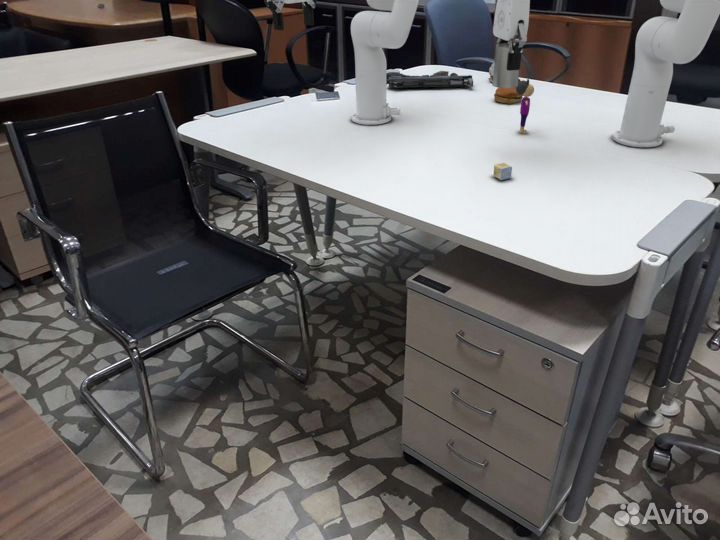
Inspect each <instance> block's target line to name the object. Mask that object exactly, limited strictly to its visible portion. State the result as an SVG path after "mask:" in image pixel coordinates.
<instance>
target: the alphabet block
mask: <svg viewBox="0 0 720 540" xmlns="http://www.w3.org/2000/svg"><path fill="white" fill-rule="evenodd" d="M512 172H513V166H512V165H510V164H507V163H505V162H502V163H501V162H500V163H497V164H494V165H493V178H494V177H495V178H496V179H498V180H500V181H504V180H508V179H511V178H512Z"/></svg>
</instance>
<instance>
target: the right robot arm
mask: <svg viewBox="0 0 720 540" xmlns="http://www.w3.org/2000/svg"><path fill="white" fill-rule="evenodd" d="M659 3H660V5H661V6H662V8H664V9H665V10H667V11H670V12H674V13H679V14H680V15H679V17H678V18H676V17H670V16H663V15H662V16H661V15H660V16H654V17H652V18H649V19H648V20H647V21H645V22H644V23H643V24H642V25H641V26H640V28H639V30H638V32H637V34H636V37H635V45H634V47H635V48H634V49H635V50H634V63H633V65H634V66H633V70H632V74H631V79H630V84H629V89H628V93H627V98H626V101H625V102H626V103H625V107H624V112H623V116H622V121H621V126H620V130H617V131H615V132H614V133H613V134H612V139H613V141H615V142H616V143H618V144H621V145H624V146H626V147H633V148H655V147H659V146H661V145H662V144H663V141H664V140H663V137H662V135H664V134H673V133H674V132H675V131H676V128H675V126H674V125H666V126H665V125H664V123H663V124H662V119H663V115H664V111H665V108H666V104H667V99H668V96H669V91H670V87H671V84H672V80H673V75H674V64H675V65H684V64H689V63H691V62H692V61H694V60H695V59H696V58H697V57H698V56H699V55H700V54H701V52H702V51H703V50H704V48H705V46H706V44H707V42H708V40H709V38H710V35H711V33H712V31H713V30H714V27H715V25H716V24H717V20H718V19H719V16H720V0H659ZM530 4H531V0H496V4H495V5H496V6H495V12H494V19H493V27H492V34H493V36H494V37H495V38H496V45H497V44H501V43H509V44H510V53H508V59H507V70H508V71H511V70H519V69H521V62H522V53H524V47H525V44H526V42H527V40H528V36H527V35H528V32H529V31H528V30H529V23H530V22H529V21H530V9H531V8H530V7H531V5H530ZM514 43H516V44H515V45H514ZM496 45H495V46H496ZM519 71H520V70H519Z"/></svg>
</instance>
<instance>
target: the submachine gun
mask: <svg viewBox="0 0 720 540" xmlns="http://www.w3.org/2000/svg"><path fill="white" fill-rule="evenodd" d="M449 73H450V72H449V71H448V70H447V71H446V70H439V71H437V72H435V73H434V72H433V74H430V75H429V74H422V75H409V74H403V73H400V72H396V71H390V72H386V86H387V85H388V88H389V89H401V88H403V89H404V88H405V89H406V88H453V87H455V88H456V87H461V88H462V87H467V86H468V87H470V88H472V87H473V86H474V79H473V75H470V74H468V75H458V73H456V72H452V73H450V74H449Z"/></svg>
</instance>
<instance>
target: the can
mask: <svg viewBox="0 0 720 540" xmlns="http://www.w3.org/2000/svg"><path fill="white" fill-rule="evenodd" d="M496 44H497V43H496ZM515 44H516V42H514V45H515ZM508 53H510V44H509V43H501V44H497V45H495V53H494V54H495V55H494V62H495V63H494V62H493V63H494V74H493V82H492V86H493V87H495V88H514V87H517V86H518V78H519V79H520V69H521V68H520V69H519V70H511V71H508V70H507V59H508Z"/></svg>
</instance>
